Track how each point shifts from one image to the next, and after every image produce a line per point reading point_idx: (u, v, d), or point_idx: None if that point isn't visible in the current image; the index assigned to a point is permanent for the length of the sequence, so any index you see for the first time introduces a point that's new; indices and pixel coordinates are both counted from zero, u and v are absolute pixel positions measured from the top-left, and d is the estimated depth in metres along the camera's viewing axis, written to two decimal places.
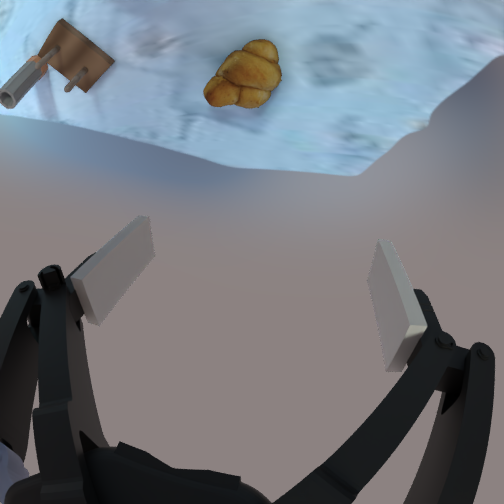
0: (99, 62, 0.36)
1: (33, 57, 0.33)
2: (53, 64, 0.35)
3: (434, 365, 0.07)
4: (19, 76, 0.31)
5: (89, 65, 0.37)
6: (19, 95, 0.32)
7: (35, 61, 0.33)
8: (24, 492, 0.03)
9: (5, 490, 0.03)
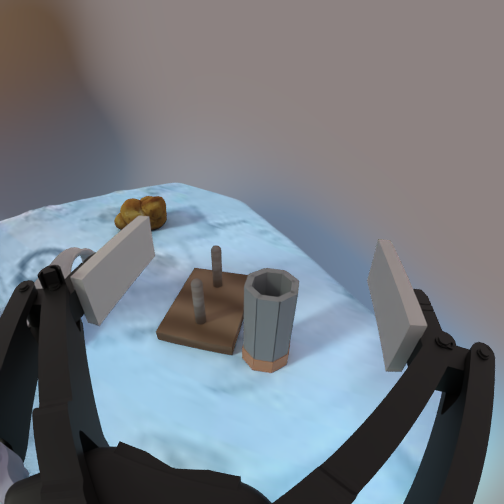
0: (197, 276, 0.45)
1: (247, 360, 0.32)
2: (234, 319, 0.37)
3: (434, 365, 0.07)
4: None
5: (208, 282, 0.44)
6: None
7: None
8: (24, 492, 0.03)
9: (5, 490, 0.03)
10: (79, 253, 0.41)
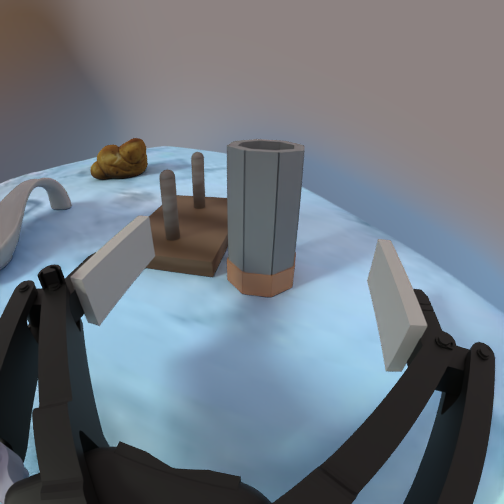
0: None
1: (235, 279, 0.23)
2: (218, 235, 0.28)
3: (434, 365, 0.07)
4: None
5: (187, 205, 0.34)
6: None
7: None
8: (24, 492, 0.03)
9: (5, 490, 0.03)
10: (42, 180, 0.32)
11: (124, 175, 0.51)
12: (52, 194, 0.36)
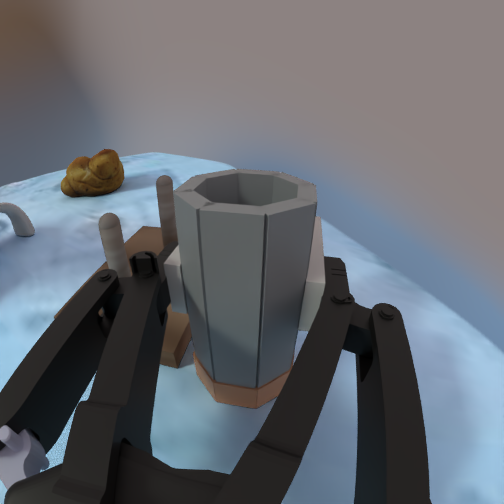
0: (143, 236, 0.27)
1: (205, 381, 0.15)
2: None
3: (336, 321, 0.09)
4: None
5: (156, 244, 0.26)
6: None
7: None
8: (31, 495, 0.03)
9: (14, 478, 0.04)
10: None
11: (95, 193, 0.42)
12: (13, 219, 0.29)
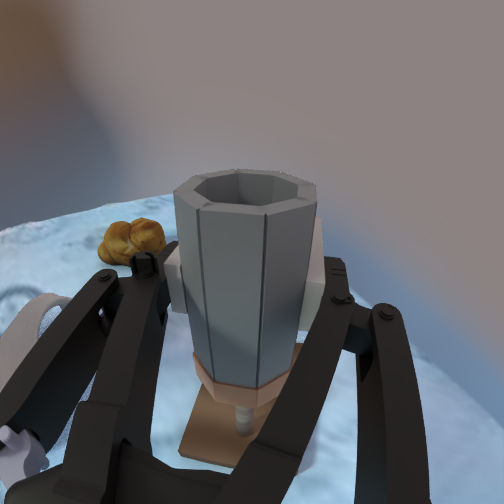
0: None
1: (205, 382, 0.15)
2: None
3: (336, 321, 0.09)
4: None
5: None
6: None
7: None
8: (31, 495, 0.03)
9: (14, 478, 0.04)
10: (50, 306, 0.27)
11: None
12: (64, 307, 0.31)
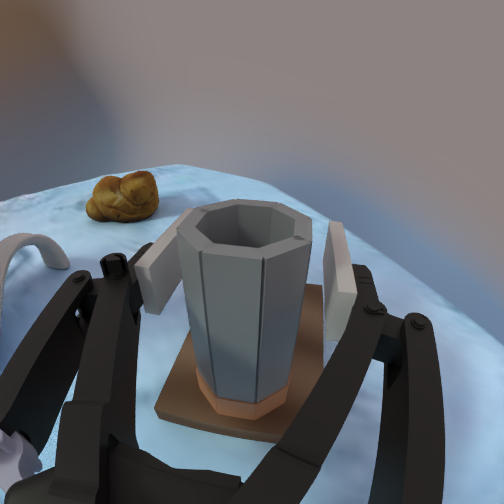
0: None
1: (207, 395, 0.15)
2: (311, 374, 0.18)
3: (368, 332, 0.09)
4: None
5: None
6: None
7: None
8: (29, 494, 0.03)
9: (11, 481, 0.03)
10: (26, 241, 0.23)
11: (128, 219, 0.40)
12: (43, 251, 0.27)
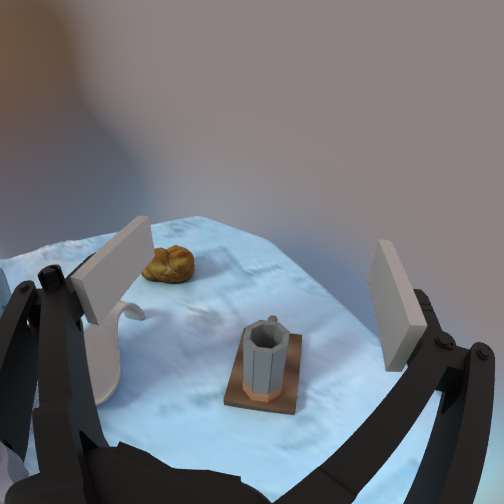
0: None
1: (247, 392, 0.37)
2: (292, 382, 0.39)
3: (434, 365, 0.07)
4: None
5: None
6: None
7: (243, 379, 0.37)
8: (24, 492, 0.03)
9: (5, 490, 0.03)
10: (123, 309, 0.45)
11: (174, 282, 0.61)
12: (127, 310, 0.49)
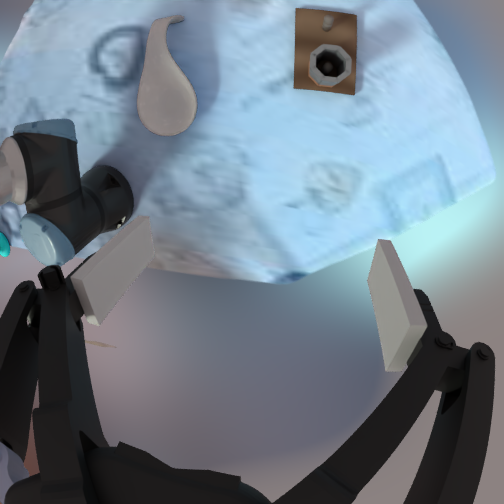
0: (303, 19, 0.34)
1: None
2: (351, 67, 0.37)
3: (434, 365, 0.07)
4: None
5: (316, 26, 0.34)
6: None
7: None
8: (24, 492, 0.03)
9: (5, 490, 0.03)
10: None
11: None
12: None
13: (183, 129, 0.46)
